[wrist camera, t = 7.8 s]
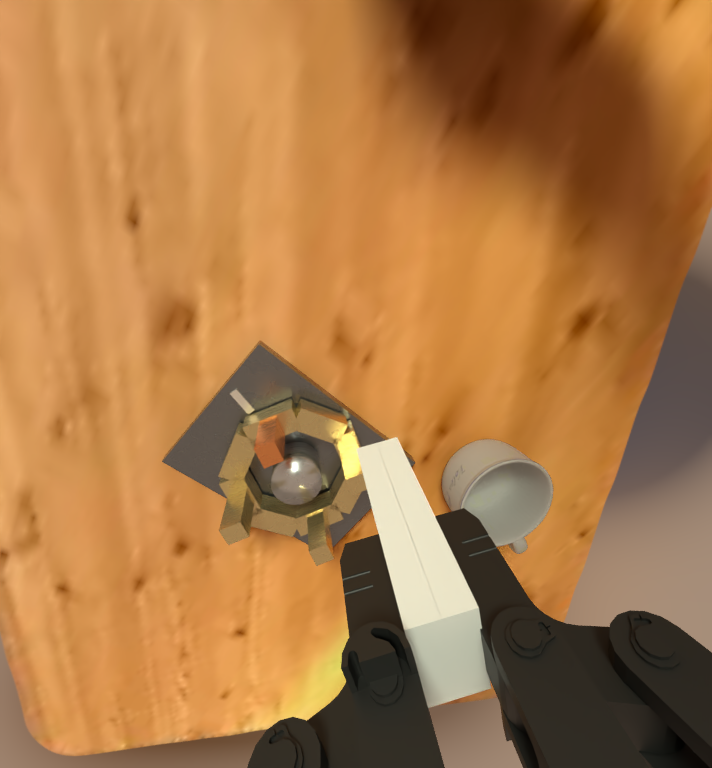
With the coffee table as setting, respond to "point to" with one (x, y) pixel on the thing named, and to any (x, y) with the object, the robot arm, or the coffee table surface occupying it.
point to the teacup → (498, 490)
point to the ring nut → (268, 443)
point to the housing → (302, 452)
